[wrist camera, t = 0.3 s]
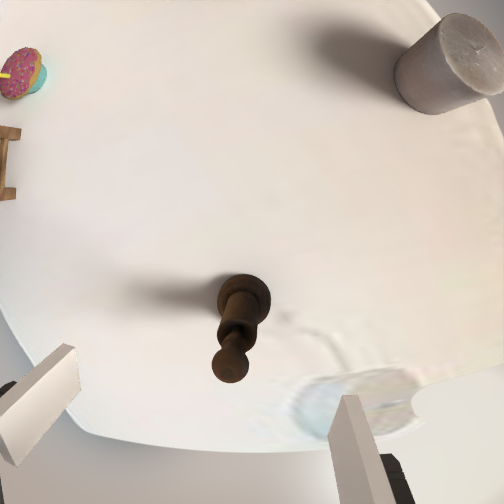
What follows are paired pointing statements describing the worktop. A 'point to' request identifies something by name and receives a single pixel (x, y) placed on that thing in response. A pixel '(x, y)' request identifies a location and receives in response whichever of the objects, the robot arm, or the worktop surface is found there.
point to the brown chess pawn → (239, 324)
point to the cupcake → (22, 74)
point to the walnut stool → (5, 135)
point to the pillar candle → (451, 66)
